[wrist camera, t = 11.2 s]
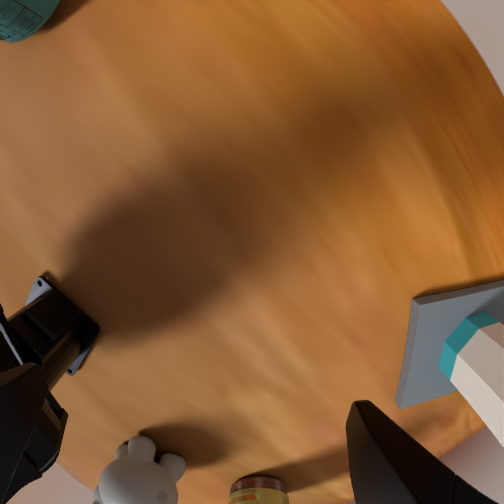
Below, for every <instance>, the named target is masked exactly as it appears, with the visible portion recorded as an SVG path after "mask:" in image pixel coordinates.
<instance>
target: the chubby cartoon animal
mask: <svg viewBox="0 0 504 504" xmlns="http://www.w3.org/2000/svg"><path fill="white" fill-rule="evenodd" d="M155 451H156V446H155V444H154V442H153V441H152V440H151V439H149V438H147V437H144V436H134V437H132V438H131V439H130V440H129V443H128V445H120V446H119V447H118V448H117V450H116V453H115V460H114V461H113V462H111V463H110V464H108V465H107V466H106V467H105V469H104V470H103V472H102V474H101V476H100V479H99V485H98V486H97V487H96V489H95V492H94V497H95V501H94V502H93V504H177V502H178V492H177V487H176V483H177V481H178V480H179V479H180V478H181V477H182V476H183V474H184V472H185V470H186V462H185V460H184V459H183V458H182V457H180V456H178V455H175V454H171V453H166V454H164V455H163V456H162V457H161V459H160V461H159V463H158V462H155V461H154V455H155Z"/></svg>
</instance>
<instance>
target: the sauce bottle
mask: <svg viewBox="0 0 504 504" xmlns="http://www.w3.org/2000/svg"><path fill="white" fill-rule="evenodd" d="M228 504H289V497H288V496H287V491H286V486H285V484H284V483H283V482H282V481H280V480H278V479H275V478H270V477H265V476H257V477H249V478H245V479H241V480H239V481H236V482H235V483H234V484H233V485H232V487H231V490H230V495H229V497H228Z"/></svg>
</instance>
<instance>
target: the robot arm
mask: <svg viewBox="0 0 504 504" xmlns="http://www.w3.org/2000/svg"><path fill="white" fill-rule="evenodd" d="M40 281H41V282H42V284H41V282H40ZM3 311H4V310H3V308H2V306H1V304H0V504H6V503H7V502H8V501H9V500H10V499H11V498H12V497H13V496H14V495H15V494H16V493H17V492H18V491H19V490H20V489H21V488H22V487H24V486H25V485H27V484H28V483H30V482H32V481H34V480H37V479H39V478H41V477H42V473H44V472H45V471H47V470H48V469H49V468H50V467H51V466H52V465H53V464H54V462H55V461H56V459H57V457H58V455H59V452H60V447H61V443H62V439H63V434H64V430H65V426H66V422H67V419H68V414H67V412H66V411H65V410H64V408H61V406H60V405H59V404H58V402H57V401H56V399H55V398H54V397H53V395H52V394H51V392H50V391H51V390H52V389H53V387H54V386H55V385H56V383H57V382H58V381H59V380H60V378H61V377H62V376H63V375H64V373H65V372H66V373H67V374H69V375H71V376H73V375H74V374H75V373H76V371H77V370H78V368H79V366H80V365H81V363H82V361H83V360H84V358H85V356H86V354H87V353H88V351H89V350H90V348H91V346H92V345H93V343H94V341H95V340H96V338H97V336H98V335H99V333H100V327H99V325H98V324H97V323H95V322H94V321H93V320H92V319H90V318H89V317H88V316H87V315H86V314H85V313H83V312H82V311H81V310H80V309H79V308H78V307H77V306H75V305H74V304H73V303H72V302H71V301H70V300H69V299H68V298H66V297H65V296H64V295H63V294H62V293H61V292H60V291H59V290H58V289H57V288H56V287H55V286H53V285H52V284H51V283H50V282H49V281H48V280H47V279H46V278H45V277H44V276H39V277H37V278H36V279H35V282H34V284H33V287H32V289H31V292H30V294H29V297H28V300H27V302H26V305H25V307H23V308H22V309H20V310H19V311H17V312H16V313H15V314H13V315H12V316H11V317H9V318H8V319H6V317H5V315H4V313H3ZM92 328H94V329H95V331H93V329H92ZM70 369H71V370H70ZM346 436H347V447H348V458H349V469H350V477H351V483H352V488H353V492H354V497H355V502H356V504H499V503H497V502H495V501H493V500H492V499H490V498H488V497H487V496H486V495H484V494H482V493H481V492H479V491H478V490H477V489H475V488H474V487H473V486H471V485H470V484H468V483H467V482H466V481H465V480H463V479H462V478H461V477H460V476H458V475H455V472H453V471H452V470H451V469H450V468H448V467H447V466H446V465H445V464H444V463H442V462H441V461H440V460H438V458H436V457H435V456H434V455H433V454H431V453H430V452H429V451H428V450H427V449H426V448H424V447H423V446H422V445H421V444H420V443H418V442H417V441H416V440H415V439H414V438H412V437H411V436H410V435H409V434H408V433H407V432H405V431H404V430H403V429H402V428H401V427H400V426H398V425H397V424H396V423H395V422H394V421H393V420H391V419H390V418H389V417H388V416H387V415H386V414H384V413H383V412H382V411H381V410H380V409H379V408H378V407H376V406H375V405H374V404H373V403H372V402H371V401H369V400H359V401H354V402H353V404H352V406H351V409H350V412H349V415H348V418H347V421H346Z"/></svg>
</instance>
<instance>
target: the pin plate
mask: <svg viewBox="0 0 504 504" xmlns="http://www.w3.org/2000/svg"><path fill="white" fill-rule="evenodd" d="M484 312H486V313H487V314H489V315H490V316H492V317H493V318H495V319H496V320H497V321H499V322H500V323H502V324H503V325H504V280H500V281H496V282H492V283H487V284H483V285H478V286H474V287H469V288H465V289H460V290H455V291H450V292H445V293H440V294H435V295H430V296H424V297H419V298H413V299H412V305H411V314H410V322H409V329H408V336H407V343H406V349H405V355H404V361H403V366H402V371H401V376H400V381H399V386H398V391H397V395H396V399H395V401H396V403H397V405H398V407H399V408H400V409H402V408H406V407H409V406H413V405H416V404H419V403H423V402H426V401H429V400H432V399H435V398H438V397H441V396H444V395H447V394H449V393H452V392H455V391H458V389H457V388H456V387H455V386H454V385H453V383H452V382H451V381H450V380H449V379H448V377H447V376H446V375H445V374H444V373H443V372H442V370H441V369H440V368H439V363H440V360H441V355H442V351H443V347H444V342H445V341H446V340H447V338H448V337H449V336H450V335H451V334H452V333H453V332H454V330H455V329H456V328H457V327H458V326H459V324H460V323H461V322H462V321H463V320H464V318H466V317H470V316H474V315H477V314H481V313H484Z"/></svg>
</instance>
